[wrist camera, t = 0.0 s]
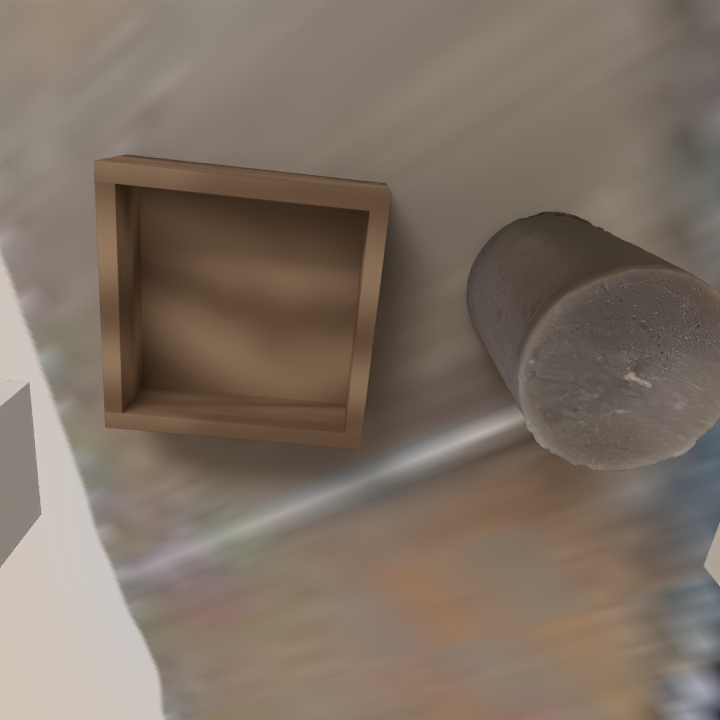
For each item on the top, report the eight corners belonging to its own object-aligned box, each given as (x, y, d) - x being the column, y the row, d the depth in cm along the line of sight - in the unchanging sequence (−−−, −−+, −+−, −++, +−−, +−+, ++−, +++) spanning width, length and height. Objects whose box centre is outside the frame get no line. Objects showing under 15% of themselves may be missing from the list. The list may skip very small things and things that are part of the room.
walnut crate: (126, 154, 36) (93, 160, 31) (386, 183, 37) (391, 193, 32) (132, 392, 41) (105, 427, 37) (358, 412, 42) (359, 449, 38)
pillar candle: (551, 177, 37) (670, 218, 23) (652, 288, 39) (813, 385, 25) (432, 293, 39) (474, 393, 26) (534, 390, 42) (622, 529, 28)
